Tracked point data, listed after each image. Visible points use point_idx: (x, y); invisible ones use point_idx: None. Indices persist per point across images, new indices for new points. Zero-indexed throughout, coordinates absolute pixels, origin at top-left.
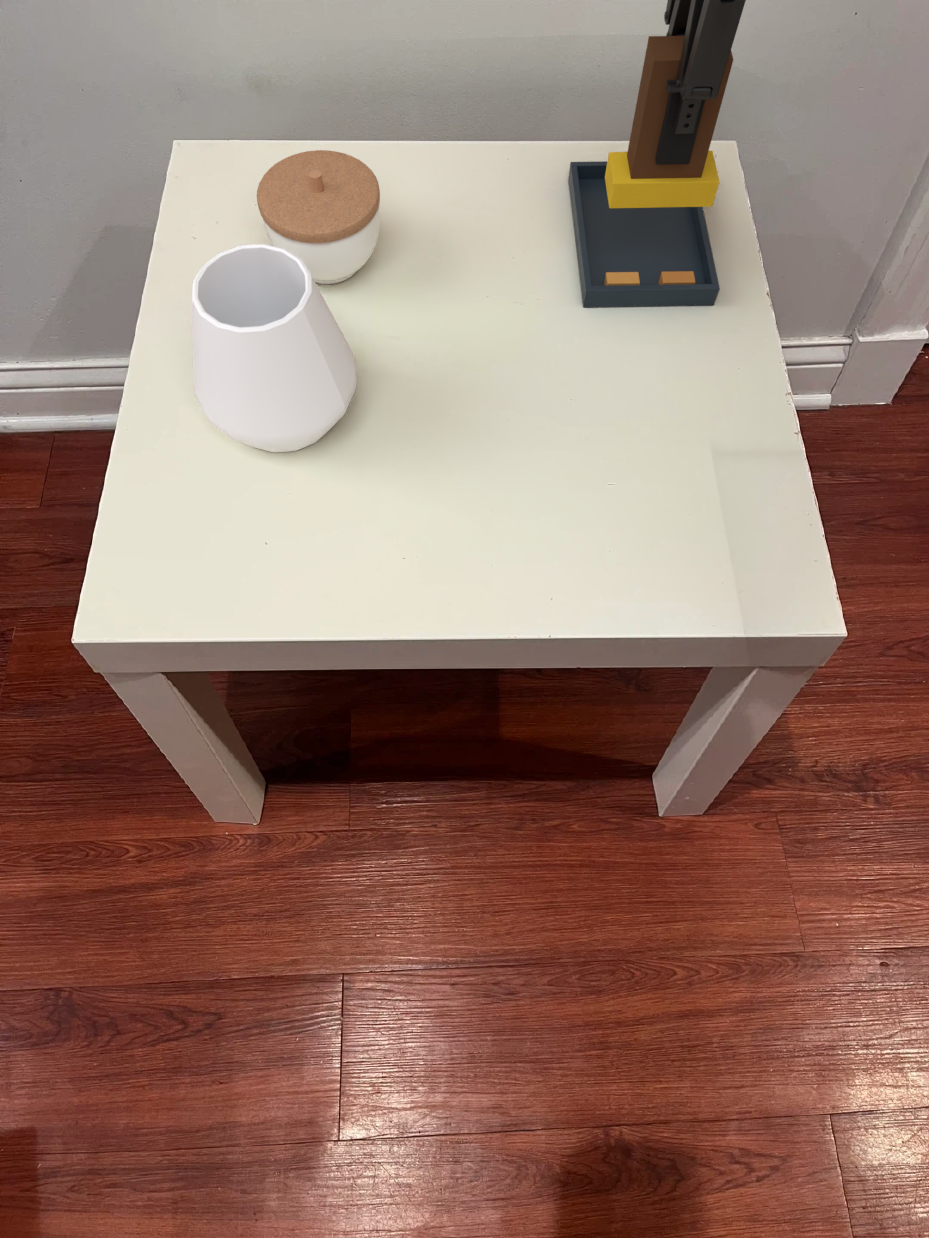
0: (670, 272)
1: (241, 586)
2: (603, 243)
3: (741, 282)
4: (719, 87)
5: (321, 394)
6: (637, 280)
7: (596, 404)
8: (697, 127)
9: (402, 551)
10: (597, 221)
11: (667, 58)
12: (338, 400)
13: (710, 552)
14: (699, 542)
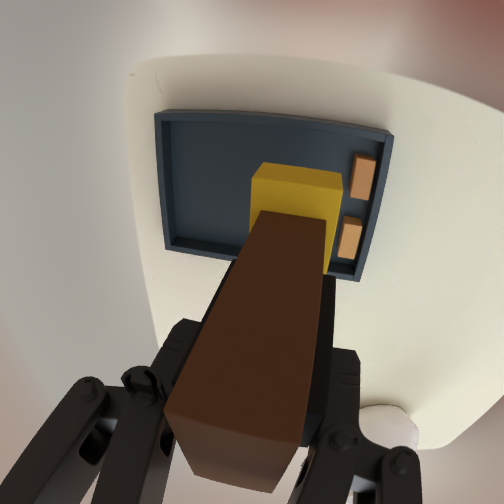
0: (354, 187)
1: (456, 424)
2: None
3: (354, 82)
4: (420, 482)
5: (413, 447)
6: (358, 228)
7: (462, 282)
8: (332, 333)
9: (483, 385)
10: (240, 230)
11: (267, 487)
12: (412, 434)
13: None
14: None
